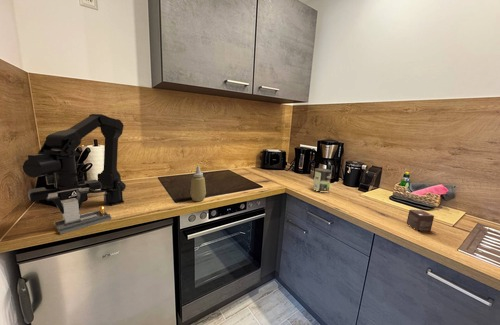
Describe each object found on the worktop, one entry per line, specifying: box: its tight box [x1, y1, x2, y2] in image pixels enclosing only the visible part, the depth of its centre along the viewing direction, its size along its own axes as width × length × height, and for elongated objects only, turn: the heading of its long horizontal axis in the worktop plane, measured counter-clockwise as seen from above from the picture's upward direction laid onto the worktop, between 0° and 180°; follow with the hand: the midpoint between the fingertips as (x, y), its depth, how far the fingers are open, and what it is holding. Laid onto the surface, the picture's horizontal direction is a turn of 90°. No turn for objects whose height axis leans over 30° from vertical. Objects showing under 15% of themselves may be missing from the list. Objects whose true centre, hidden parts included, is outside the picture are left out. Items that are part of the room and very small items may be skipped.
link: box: [61, 197, 97, 226], centre depth 74 cm, size 9×5×8 cm, turn 143°
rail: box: [54, 205, 112, 235], centre depth 75 cm, size 15×9×4 cm, turn 143°
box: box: [406, 209, 435, 232], centre depth 85 cm, size 6×6×7 cm
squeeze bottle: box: [189, 165, 207, 202], centre depth 102 cm, size 8×8×18 cm
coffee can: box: [312, 167, 333, 192], centre depth 130 cm, size 10×10×14 cm
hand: (70, 211), depth 72 cm, fingers closed on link, 4 cm apart
